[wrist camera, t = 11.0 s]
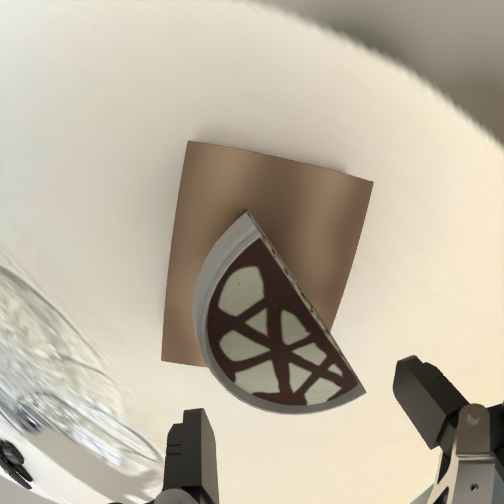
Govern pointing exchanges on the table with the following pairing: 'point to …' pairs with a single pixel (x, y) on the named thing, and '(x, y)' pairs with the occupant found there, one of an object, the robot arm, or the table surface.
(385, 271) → the table surface
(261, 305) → the half-round tin
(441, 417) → the robot arm
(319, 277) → the brown wooden block
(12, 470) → the can opener
